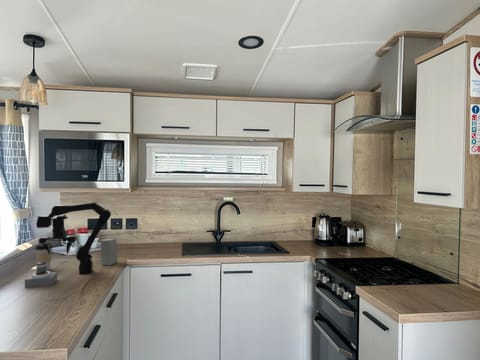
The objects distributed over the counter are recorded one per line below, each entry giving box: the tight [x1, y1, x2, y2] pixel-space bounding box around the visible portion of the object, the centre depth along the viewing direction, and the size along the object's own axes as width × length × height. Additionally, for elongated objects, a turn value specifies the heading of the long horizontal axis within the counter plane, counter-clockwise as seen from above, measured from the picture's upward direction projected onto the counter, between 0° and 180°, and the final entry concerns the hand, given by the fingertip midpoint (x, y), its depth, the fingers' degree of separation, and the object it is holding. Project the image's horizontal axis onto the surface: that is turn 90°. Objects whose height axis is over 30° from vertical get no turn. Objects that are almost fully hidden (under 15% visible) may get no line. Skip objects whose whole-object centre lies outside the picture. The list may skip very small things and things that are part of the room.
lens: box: [35, 262, 47, 275], centre depth 167 cm, size 5×5×7 cm
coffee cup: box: [34, 243, 54, 271], centre depth 192 cm, size 9×9×15 cm
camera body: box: [24, 270, 58, 288], centre depth 167 cm, size 12×9×6 cm
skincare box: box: [100, 238, 118, 266], centre depth 204 cm, size 8×7×16 cm
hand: (58, 254), depth 181 cm, fingers open, 9 cm apart
